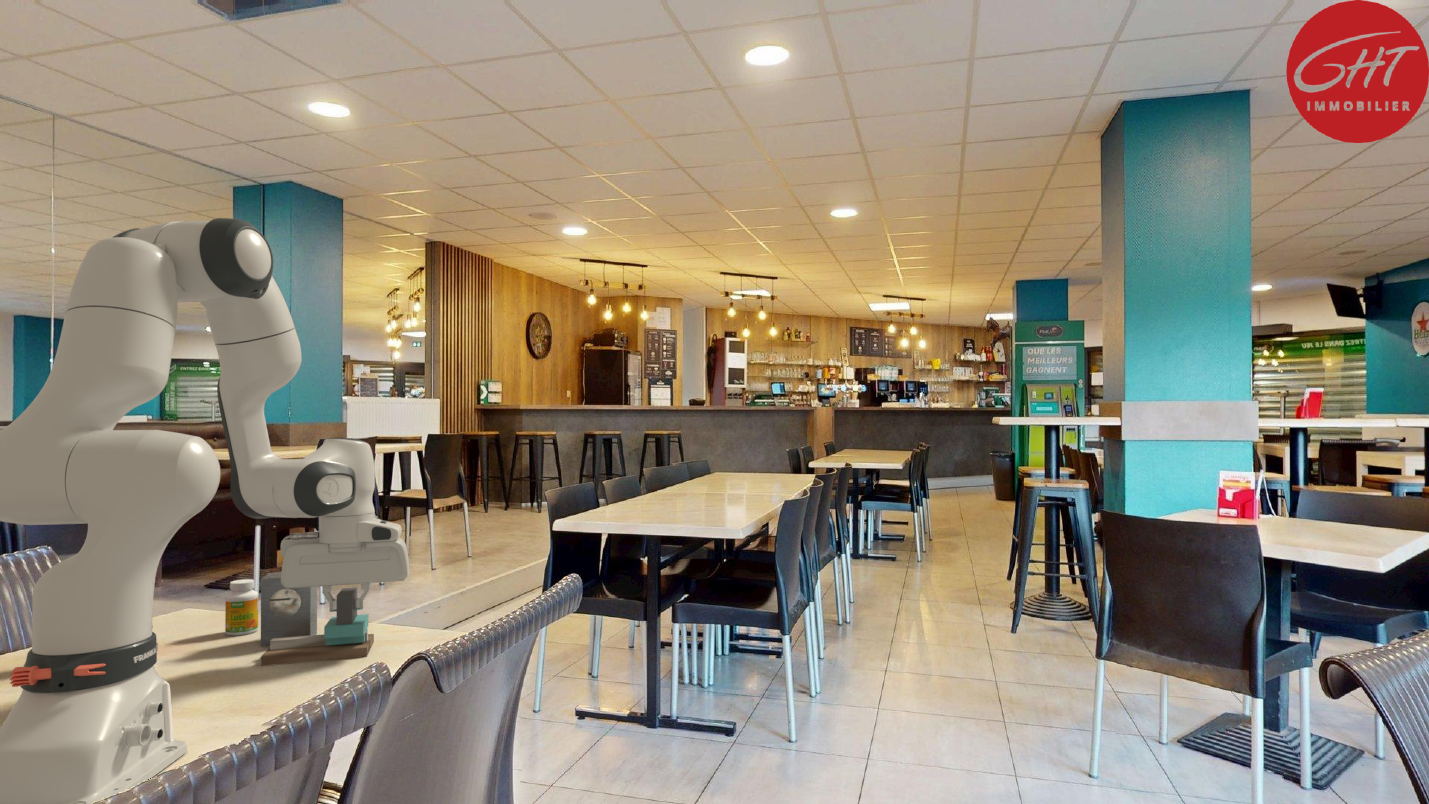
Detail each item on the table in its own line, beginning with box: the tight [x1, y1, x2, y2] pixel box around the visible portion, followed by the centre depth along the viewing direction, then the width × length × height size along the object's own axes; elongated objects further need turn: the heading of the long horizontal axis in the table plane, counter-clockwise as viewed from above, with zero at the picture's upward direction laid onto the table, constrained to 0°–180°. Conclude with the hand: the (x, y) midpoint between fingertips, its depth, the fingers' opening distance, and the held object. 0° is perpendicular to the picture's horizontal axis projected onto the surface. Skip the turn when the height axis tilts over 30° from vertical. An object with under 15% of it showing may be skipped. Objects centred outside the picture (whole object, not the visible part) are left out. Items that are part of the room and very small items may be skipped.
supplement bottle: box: [224, 578, 260, 637], centre depth 148 cm, size 5×5×10 cm
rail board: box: [260, 630, 375, 667], centre depth 134 cm, size 9×16×3 cm, turn 107°
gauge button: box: [276, 550, 284, 565], centre depth 143 cm, size 4×4×2 cm
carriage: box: [323, 587, 369, 646], centre depth 135 cm, size 7×6×8 cm
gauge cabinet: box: [260, 571, 318, 648], centre depth 142 cm, size 7×8×12 cm
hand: (347, 610), depth 135 cm, fingers closed on carriage, 2 cm apart
